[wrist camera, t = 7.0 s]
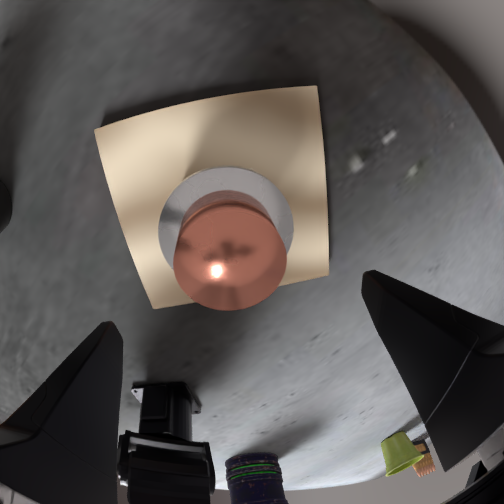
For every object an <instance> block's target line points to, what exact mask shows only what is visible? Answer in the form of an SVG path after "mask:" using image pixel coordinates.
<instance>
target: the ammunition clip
mask: <svg viewBox="0 0 504 504" xmlns="http://www.w3.org/2000/svg"><path fill="white" fill-rule="evenodd" d="M412 443H413V445H414V446H415V448H416V449H417V450H418V451H420V453H421V454H423V455H424V457H423V458H422V459H421V460H419V461H418V462H416V463H415V464H413V465H412V466H413V468H414V469H415V470H416V473H417V474H418V476H419V477H421V474H422V475H423V476H424V473H425V474H426V475H427V472H428V473H430V471H431V472H433V470H434V471H435V465H434V463H433V460H432V457H431V455H430V451H429V448H428V446H427V444H426V442H425V440H421V441H416V442H412Z"/></svg>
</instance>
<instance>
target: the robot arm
mask: <svg viewBox="0 0 504 504" xmlns="http://www.w3.org/2000/svg"><path fill="white" fill-rule="evenodd" d="M361 293H362V297H363V299H364V302H365V304H366V306H367V309H368V311H369V313H370V316H371V318H372V321H373V323H374V325H375V328H376V330H377V332H378V334H379V336H380V338H381V339H382V341H383V343H384V345H385V347H386V349H387V351H388V352H389V354H390V356H391V358H392V360H393V362H394V364H395V366H396V368H397V370H398V371H399V373H400V375H401V377H402V379H403V381H404V383H405V385H406V387H407V389H408V391H409V393H410V395H411V397H412V399H413V402H414V404H415V406H416V408H417V410H418V412H419V414H420V416H421V418H422V421H423V423H424V424H425V428H426V430H427V432H428V434H429V436H430V439H431V441H432V443H433V446H434V448H435V450H436V453H437V455H438V457H439V460H440V462H441V465H442V467H443V469H444V471H445V472H447V471H449V470H450V469H452V468H453V467H455V466H457V465H458V464H459V463H461V462H463V461H464V460H466V459H467V458H469V457H470V456H472V455H473V454H475V453H476V452H478V454H479V456H480V458H481V461H479V462H478V463H477V464H475V465H474V466H473V467H472V469H471V472H470V475H469V478H468V481H467V484H466V487H465V489H463V490H462V491H460V492H459V493H457V494H456V495H454V496H453V497H451V498H450V499H448V500H446V501H445V502H443V503H441V504H504V326H503V325H501V324H498V323H495V322H493V321H490V320H487V319H485V318H482V317H480V316H477V315H475V314H472V313H470V312H468V311H465V310H463V309H461V308H459V307H457V306H454V305H451V304H450V303H448V302H446V301H443V300H441V299H439V298H437V297H435V296H433V295H430V294H428V293H426V292H424V291H422V290H419V289H417V288H415V287H413V286H410V285H408V284H406V283H404V282H401V281H399V280H397V279H395V278H392V277H390V276H388V275H385V274H383V273H381V272H378V271H376V270H370V271H366V272H364V273H363V278H362V289H361ZM122 376H123V339H122V336H121V334H120V333H119V331H118V329H117V327H116V326H115V324H114V323H113V322H112V321H106V322H102V323H101V324H100V325H99V326H98V327H97V328H96V329H95V330H94V331H93V332H92V333H91V334H90V335H89V336H88V337H87V338H86V339H85V340H84V341H83V342H82V343H81V344H80V345H79V346H78V347H77V348H76V349H75V350H74V351H73V352H72V353H71V354H70V355H69V356H68V357H67V358H66V359H65V360H64V361H63V362H62V363H61V364H60V365H59V366H58V367H57V368H56V370H55V371H54V372H53V373H52V374H51V375H50V376H49V377H48V378H47V379H46V382H43V383H42V385H41V386H40V387H39V388H38V389H37V390H36V391H35V392H34V393H33V394H32V395H31V396H30V397H29V398H28V399H27V400H26V401H25V402H24V403H23V404H22V405H21V406H20V407H19V408H18V409H17V410H16V411H15V412H14V413H13V414H12V415H11V416H10V417H9V418H8V419H7V420H6V421H5V422H3V423H2V424H1V425H0V504H118V502H117V473H118V474H119V478H120V479H121V480H120V481H121V485H125V486H128V492H127V498H128V502H129V504H210V495H213V493H214V490H215V470H214V465H213V461H212V456H211V451H210V446H209V442H193V441H192V414H199V413H201V409H200V407H199V405H198V404H197V402H196V400H195V399H194V397H193V395H192V393H191V392H190V390H189V388H188V386H187V384H186V383H184V382H177V383H167V384H156V385H144V386H133V387H132V389H131V391H132V393H133V394H134V395H135V397H136V398H137V399H138V400H139V402H140V403H141V411H140V423H139V433H134V432H131V431H129V430H126V431H125V434H124V435H119V442H118V424H119V410H120V398H121V388H122ZM117 443H118V449H117ZM130 451H131V452H130Z"/></svg>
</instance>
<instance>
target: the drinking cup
mask: <svg viewBox="0 0 504 504" xmlns="http://www.w3.org/2000/svg"><path fill="white" fill-rule="evenodd" d="M11 214H12V205H11V199H10V196H9V193H8V191H7V189H6V187H5V186H4V184H3V183H2V182H1V181H0V233H1V232H2V231H3V230H4V229H5V228H6V227H7V225H8V224H9V222H10V219H11Z"/></svg>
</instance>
